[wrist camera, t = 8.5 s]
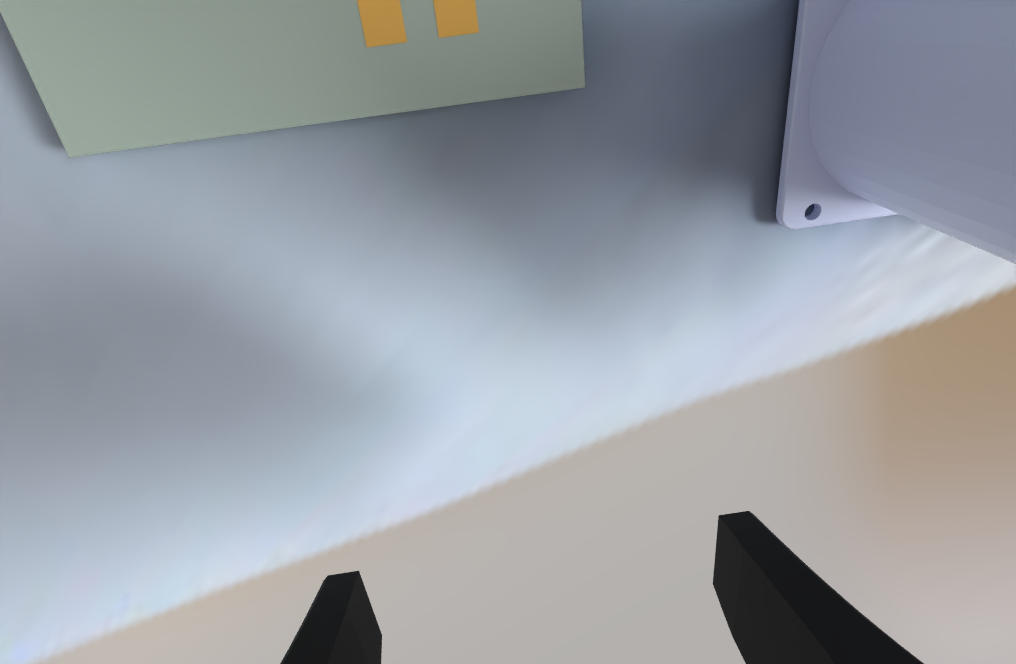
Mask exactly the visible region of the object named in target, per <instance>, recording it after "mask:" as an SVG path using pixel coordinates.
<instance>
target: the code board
mask: <svg viewBox="0 0 1016 664" xmlns="http://www.w3.org/2000/svg"><path fill="white" fill-rule="evenodd" d="M0 13H1V15H2V17H3V19H4V21H5V23H6V26H7V28H8V30H9V32H10V34H11V36H12V38H13V40H14V42H15V45H16V47H17V49H18V51H19V53H20V55H21V57H22V59H23V61H24V64H25V66H26V68H27V70H28V72H29V74H30V76H31V78H32V80H33V83H34V85H35V87H36V89H37V91H38V93H39V95H40V97H41V100H42V102H43V104H44V106H45V108H46V110H47V112H48V114H49V116H50V119H51V121H52V123H53V125H54V127H55V129H56V131H57V133H58V135H59V138H60V140H61V142H62V144H63V146H64V148H65V150H66V152H67V154H68V157H69V158H70V157H77V156H84V155H92V154H99V153H107V152H114V151H121V150H129V149H136V148H143V147H151V146H158V145H165V144H173V143H180V142H188V141H195V140H202V139H210V138H217V137H224V136H232V135H239V134H247V133H254V132H261V131H269V130H276V129H283V128H291V127H298V126H305V125H313V124H320V123H328V122H335V121H342V120H350V119H357V118H364V117H372V116H379V115H387V114H394V113H401V112H409V111H416V110H423V109H431V108H438V107H445V106H453V105H460V104H468V103H475V102H482V101H490V100H497V99H504V98H512V97H519V96H527V95H534V94H541V93H549V92H556V91H563V90H571V89H578V88H585V70H584V49H583V28H582V7H581V0H0Z"/></svg>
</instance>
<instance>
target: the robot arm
mask: <svg viewBox="0 0 1016 664" xmlns="http://www.w3.org/2000/svg"><path fill="white" fill-rule="evenodd" d="M812 204H814V209H813V212H812V213H811V214H810V215H808V216H805V211H806V209H807V208H808V207H809V206H810V205H812ZM897 214H900V215H903V216H905V217H907V218H910V219H912V220H914V221H917V222H919V223H921V224H924V225H926V226H928V227H931V228H933V229H935V230H938V231H940V232H942V233H945V234H947V235H949V236H952V237H954V238H956V239H959V240H961V241H963V242H966V243H968V244H970V245H973V246H975V247H977V248H980V249H982V250H984V251H987V252H989V253H991V254H994V255H996V256H998V257H1001V258H1003V259H1005V260H1008V261H1010V262H1012V263H1015V264H1016V0H800V1H799V10H798V19H797V28H796V37H795V46H794V55H793V64H792V73H791V82H790V91H789V99H788V108H787V117H786V126H785V135H784V144H783V153H782V162H781V171H780V180H779V189H778V198H777V207H776V219H777V221H778V222H779V224H781V225H783V226H784V227H786V228H788V229H799V228H806V227H813V226H820V225H827V224H834V223H841V222H848V221H855V220H862V219H869V218H876V217H883V216H890V215H897ZM713 585H714V588H715V591H716V594H717V596H718V599H719V602H720V604H721V607H722V610H723V612H724V615H725V618H726V621H727V623H728V626H729V628H730V631H731V633H732V636H733V638H734V640H735V642H736V644H737V646H738V649H739V650H740V653H741V655H742V656H743V659H744V661H745V663H746V664H924V663H922V662H921V661H920V660H918V659H917V658H916V657H914V656H913V655H912V654H911V653H909V652H908V651H907V650H905V649H904V648H903V647H902V646H900V645H899V644H898V643H897V642H895V641H894V640H893V639H892V638H891V637H889V636H888V635H887V634H886V633H884V632H883V631H882V630H881V629H879V628H878V627H877V626H876V625H875V624H873V623H872V622H871V621H870V620H869V619H867V618H866V617H865V616H864V615H862V614H861V613H860V612H859V611H858V610H856V609H855V608H854V607H853V606H852V605H851V604H850V603H849V602H848V601H846V600H845V599H844V598H843V597H842V596H841V595H840V594H838V593H837V592H836V591H835V590H834V589H833V588H831V587H830V586H829V585H828V584H827V583H826V582H825V581H824V580H822V579H821V578H820V577H819V576H818V575H817V574H816V573H815V572H814V571H813V570H811V569H810V568H809V567H808V566H807V565H806V564H805V563H804V562H803V561H802V560H800V559H799V557H797V556H796V555H795V554H794V553H793V552H792V551H791V550H790V549H789V548H788V547H787V546H786V545H785V544H784V543H783V542H781V541H780V540H779V539H778V538H777V537H776V536H775V535H774V534H773V533H772V532H771V531H770V530H769V529H768V528H767V527H766V526H765V525H764V524H763V523H762V522H761V521H760V520H759V519H758V518H757V517H756V516H754V514H752V513H751V512H750V511H745V512H739V513H732V514H725V515H719V520H718V530H717V542H716V553H715V566H714V577H713ZM381 648H382V634H381V631H380V629H379V626H378V623H377V621H376V617H375V615H374V612H373V609H372V606H371V603H370V601H369V598H368V595H367V592H366V590H365V587H364V584H363V581H362V578H361V575H360V573H359V571H355V572H348V573H342V574H336V575H329V576H327V577H326V579H325V580H324V581H323V583H322V585H321V587H320V590H319V591H318V593H317V595H316V597H315V600H314V602H313V603H312V605H311V607H310V609H309V611H308V613H307V616H306V617H305V619H304V621H303V623H302V625H301V627H300V629H299V631H298V632H297V634H296V636H295V638H294V640H293V642H292V644H291V646H290V647H289V650H288V651H287V653H286V655H285V657H284V658H283V660H282V662H281V663H280V664H381Z"/></svg>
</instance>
